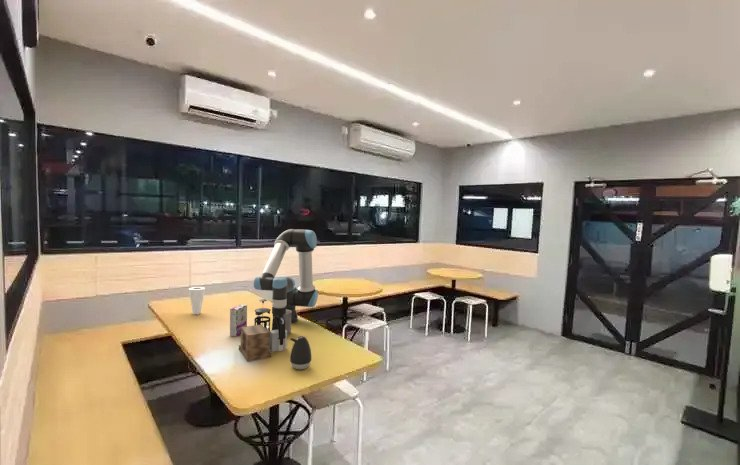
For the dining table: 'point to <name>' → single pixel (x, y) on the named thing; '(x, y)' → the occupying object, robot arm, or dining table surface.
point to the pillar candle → (287, 321)
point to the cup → (196, 298)
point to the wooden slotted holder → (255, 342)
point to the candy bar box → (238, 319)
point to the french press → (258, 318)
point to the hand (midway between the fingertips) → (277, 347)
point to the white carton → (276, 340)
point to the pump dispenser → (300, 353)
